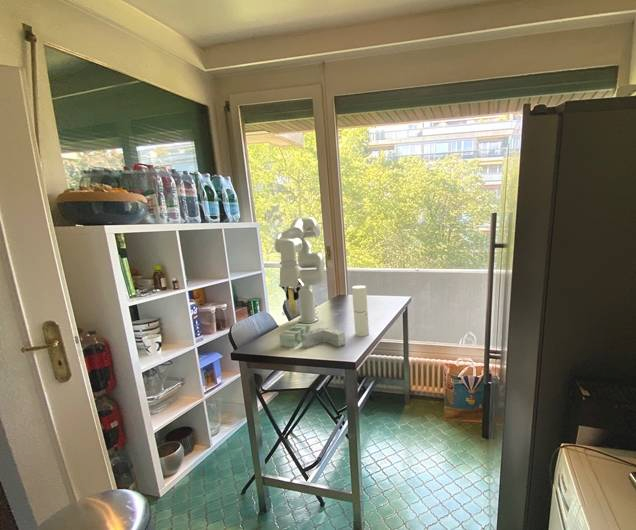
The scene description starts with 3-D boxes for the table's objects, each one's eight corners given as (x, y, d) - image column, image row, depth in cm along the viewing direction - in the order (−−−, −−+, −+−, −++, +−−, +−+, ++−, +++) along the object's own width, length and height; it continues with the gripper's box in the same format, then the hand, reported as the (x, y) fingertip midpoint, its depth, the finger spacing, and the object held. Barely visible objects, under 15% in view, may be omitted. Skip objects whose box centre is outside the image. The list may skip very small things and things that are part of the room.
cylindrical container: (353, 333, 175) (349, 286, 172) (364, 330, 178) (361, 284, 175) (359, 337, 169) (355, 289, 166) (371, 334, 171) (368, 286, 168)
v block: (304, 340, 171) (303, 328, 170) (345, 338, 169) (344, 326, 168) (301, 348, 160) (299, 336, 159) (345, 346, 158) (344, 334, 157)
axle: (292, 311, 172) (290, 287, 171) (299, 312, 171) (296, 287, 169) (288, 313, 169) (286, 288, 167) (295, 314, 167) (292, 289, 165)
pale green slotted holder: (298, 334, 181) (297, 323, 180) (311, 335, 178) (310, 324, 177) (280, 346, 165) (279, 334, 164) (294, 347, 162) (293, 335, 161)
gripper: (271, 265, 167) (274, 300, 169) (300, 264, 159) (303, 301, 162) (279, 263, 173) (282, 297, 176) (307, 262, 166) (310, 298, 169)
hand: (292, 299), depth 169 cm, fingers closed on axle, 4 cm apart
